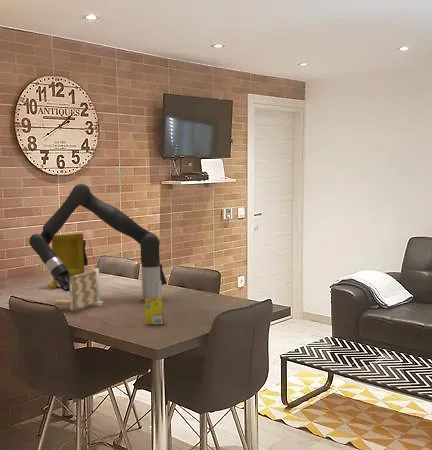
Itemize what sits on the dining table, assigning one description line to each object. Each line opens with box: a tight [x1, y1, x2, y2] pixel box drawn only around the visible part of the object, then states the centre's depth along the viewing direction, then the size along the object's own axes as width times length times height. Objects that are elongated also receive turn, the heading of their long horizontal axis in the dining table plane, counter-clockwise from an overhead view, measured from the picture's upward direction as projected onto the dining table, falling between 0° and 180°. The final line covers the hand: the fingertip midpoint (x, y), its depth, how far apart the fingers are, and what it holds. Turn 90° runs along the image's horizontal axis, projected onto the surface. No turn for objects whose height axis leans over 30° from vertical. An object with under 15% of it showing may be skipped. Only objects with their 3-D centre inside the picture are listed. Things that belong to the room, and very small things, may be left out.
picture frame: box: [52, 267, 104, 307], centre depth 292 cm, size 25×5×18 cm, turn 76°
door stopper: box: [160, 263, 168, 286], centre depth 339 cm, size 9×6×12 cm, turn 124°
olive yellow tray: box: [38, 232, 96, 290], centre depth 338 cm, size 31×14×30 cm, turn 125°
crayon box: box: [144, 297, 164, 325], centre depth 255 cm, size 7×3×12 cm, turn 88°
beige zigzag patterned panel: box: [69, 269, 97, 311], centre depth 280 cm, size 18×2×15 cm, turn 155°
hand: (77, 296), depth 278 cm, fingers closed
